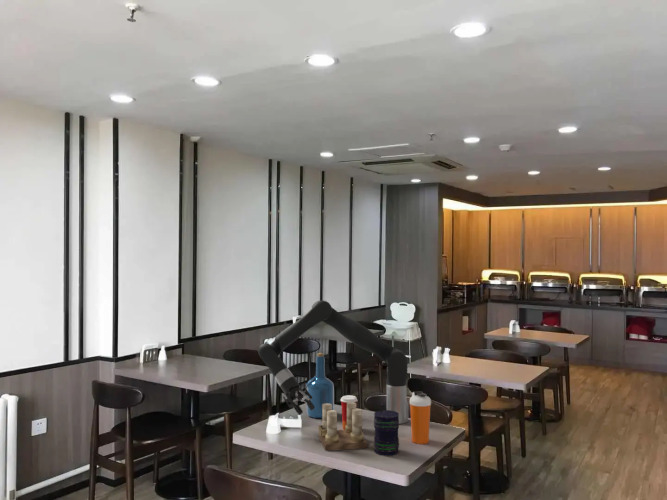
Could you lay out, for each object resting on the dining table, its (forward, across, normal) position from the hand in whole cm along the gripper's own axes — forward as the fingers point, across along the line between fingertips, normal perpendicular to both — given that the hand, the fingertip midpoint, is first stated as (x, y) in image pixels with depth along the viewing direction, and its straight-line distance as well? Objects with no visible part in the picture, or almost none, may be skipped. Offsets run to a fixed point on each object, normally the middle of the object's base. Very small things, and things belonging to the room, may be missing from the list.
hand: (307, 411), depth 238 cm
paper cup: (+14, +17, 0) cm, 22 cm away
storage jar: (+34, +1, -20) cm, 40 cm away
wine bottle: (-2, +27, +16) cm, 32 cm away
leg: (+13, 0, -2) cm, 13 cm away
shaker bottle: (+38, +20, -24) cm, 49 cm away
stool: (+20, 0, -6) cm, 21 cm away
